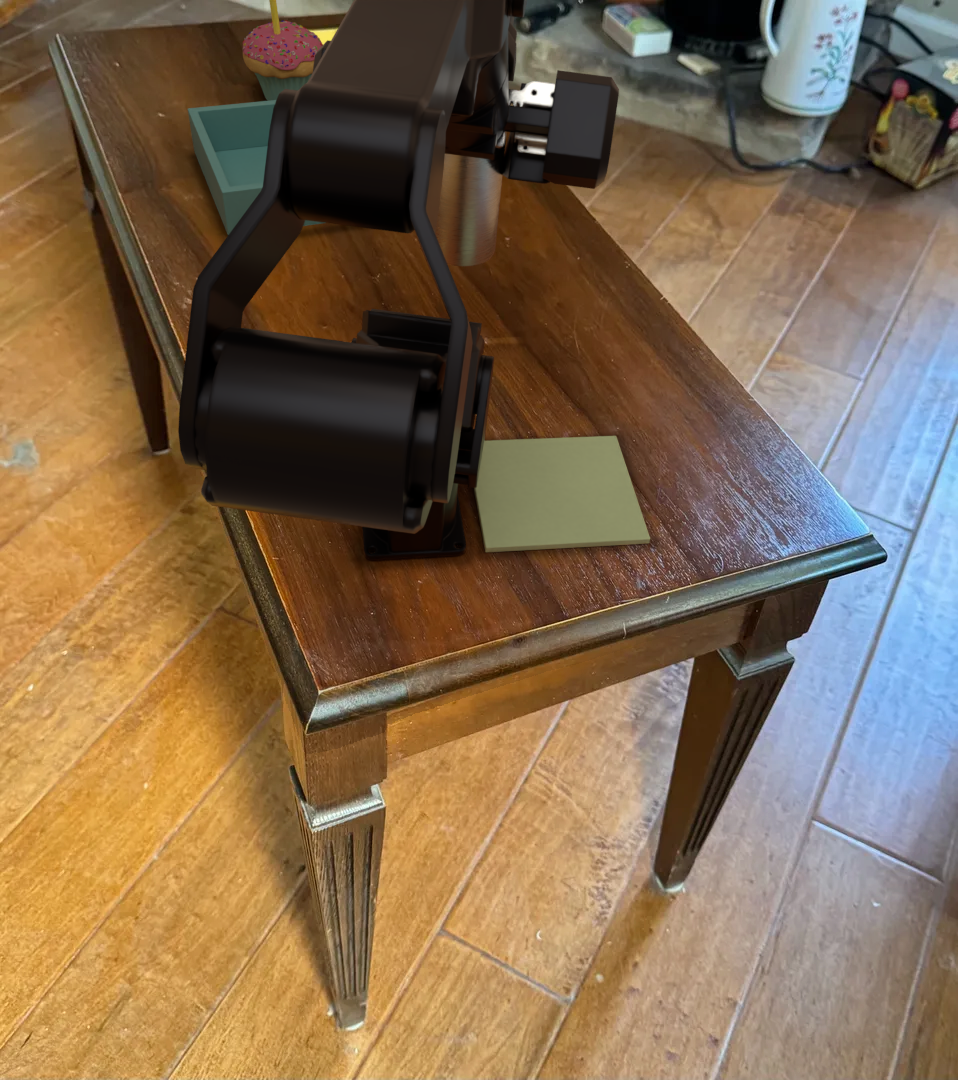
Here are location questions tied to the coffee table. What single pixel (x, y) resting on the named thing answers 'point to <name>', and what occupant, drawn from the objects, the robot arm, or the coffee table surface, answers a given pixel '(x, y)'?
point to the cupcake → (280, 54)
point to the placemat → (556, 495)
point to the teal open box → (233, 154)
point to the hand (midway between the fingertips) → (468, 162)
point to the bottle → (469, 208)
